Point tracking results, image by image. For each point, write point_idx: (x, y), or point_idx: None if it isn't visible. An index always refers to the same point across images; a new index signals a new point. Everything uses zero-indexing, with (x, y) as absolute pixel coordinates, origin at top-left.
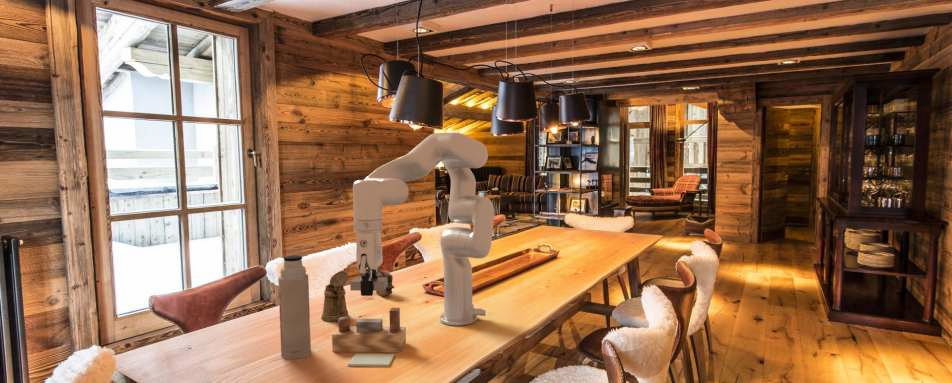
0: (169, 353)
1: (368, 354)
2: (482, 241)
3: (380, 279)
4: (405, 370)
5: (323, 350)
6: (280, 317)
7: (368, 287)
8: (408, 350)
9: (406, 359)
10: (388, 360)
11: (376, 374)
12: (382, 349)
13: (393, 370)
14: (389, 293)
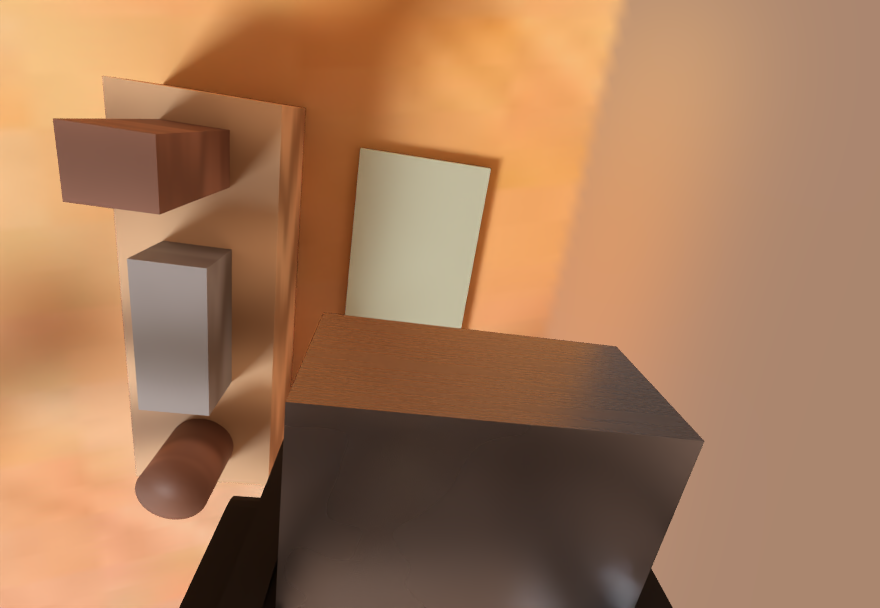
0: None
1: (355, 278)
2: None
3: (468, 525)
4: (547, 78)
5: None
6: None
7: (658, 589)
8: (279, 66)
9: (409, 75)
10: (442, 173)
11: (561, 218)
12: (298, 216)
13: (535, 141)
14: None
